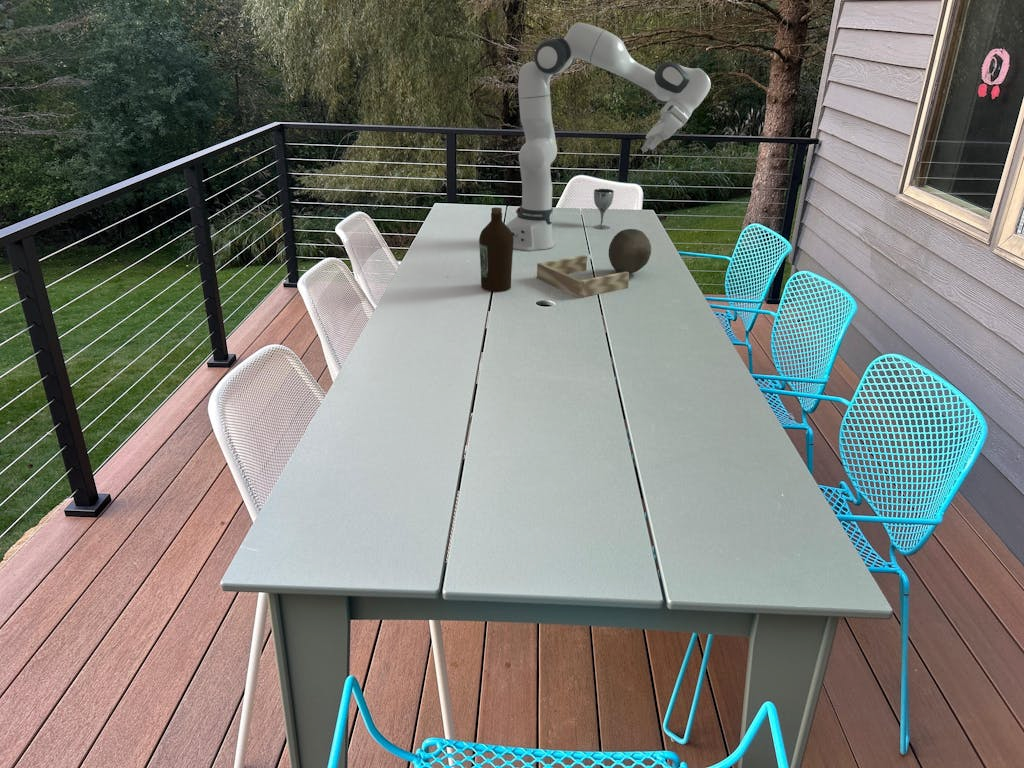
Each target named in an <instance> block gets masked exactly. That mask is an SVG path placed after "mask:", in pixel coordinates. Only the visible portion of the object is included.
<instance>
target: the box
mask: <svg viewBox="0 0 1024 768" xmlns="http://www.w3.org/2000/svg"><path fill="white" fill-rule="evenodd" d="M587 263H588V256H587V255H583V254H582V255H580V256H572V257H567V258H561V259H555V260H550V261H544V262H539V263H537V265H536V266H537V267H536V279H538V280H540V281H542V282H544V283H546V284H548V285H551V286H553V287H556V288H557V289H560V290H562V291H564V292H566V293H567V294H570V295H572V296H574V295H575V297H576V298H579V299H581V297H582V298H586V297H590V296H595V295H600V294H605V293H606V294H607V293H610V292H615V291H620V290H623V289H628V288H629V280H630V279H629V278H630V274H629V272H621V273H619V272H617V273H616V272H615V273H612V274H606V275H602V276H596V277H591V278H585V279H581V278H580V279H579V278H577V277H575V276H573V275H571V274H575V273H574V272H576V273H580V271H582V272H585V271H587V266H588V265H587ZM570 273H571V274H570Z"/></svg>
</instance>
